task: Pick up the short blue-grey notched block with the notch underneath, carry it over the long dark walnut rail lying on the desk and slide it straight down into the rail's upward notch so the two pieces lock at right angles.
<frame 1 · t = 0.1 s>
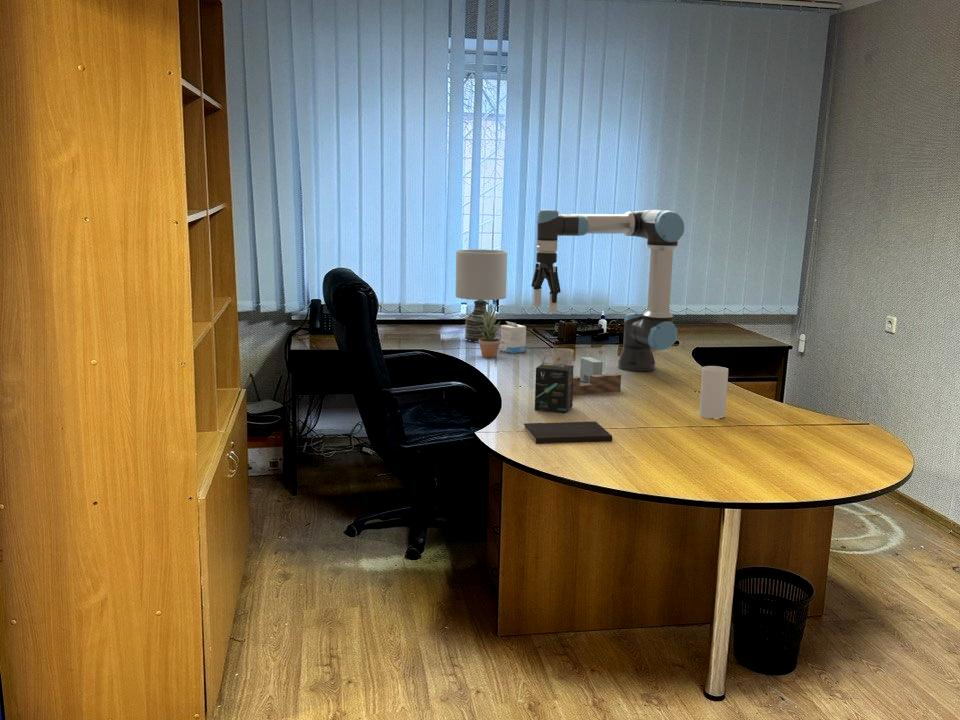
hand: (544, 309, 331), 28 cm above the table, fingers open, 13 cm apart
mug: (556, 375, 350), on the table
cup: (711, 416, 291), on the table
walnut rail: (584, 392, 320), on the table
hardcover book: (566, 437, 265), on the table
tampon box: (553, 409, 296), on the table
lamp: (479, 340, 425), on the table
blue-grey notched block: (590, 382, 336), on the table
white box: (513, 351, 398), on the table
potted plant: (488, 356, 385), on the table
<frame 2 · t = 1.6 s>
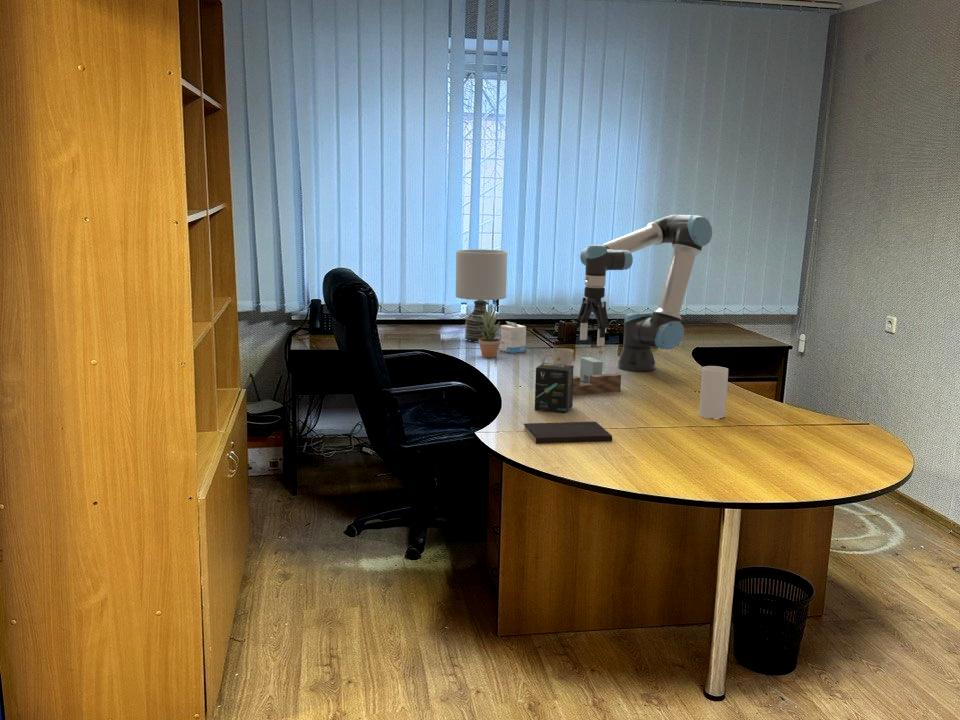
hand: (591, 343, 333), 15 cm above the table, fingers open, 13 cm apart
nothing on the table moved.
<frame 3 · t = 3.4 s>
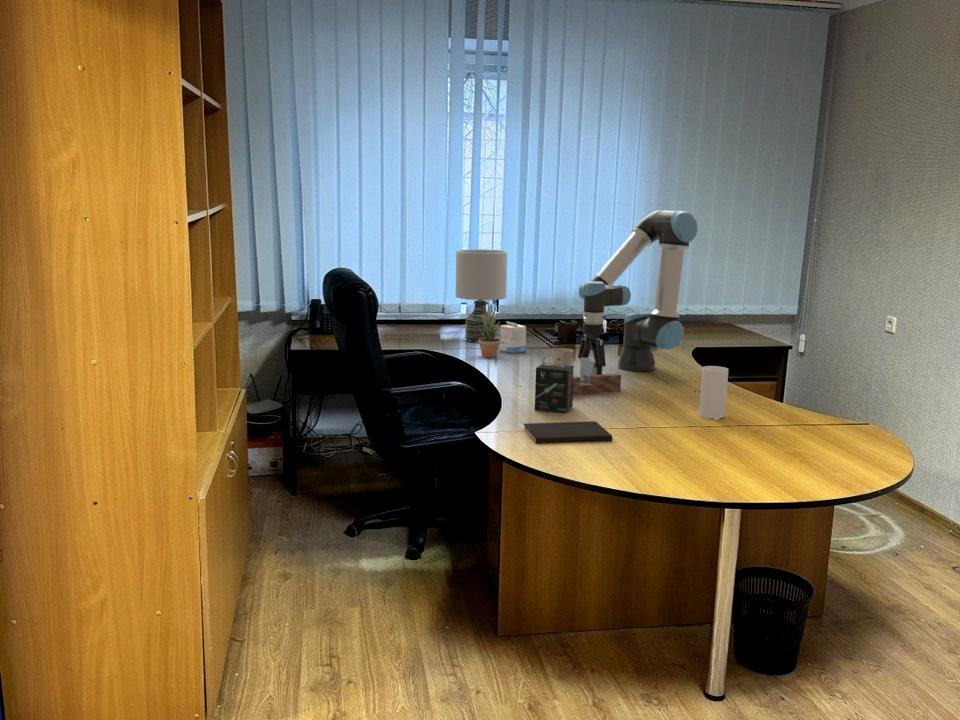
hand: (590, 380, 336), 1 cm above the table, fingers closed on blue-grey notched block, 10 cm apart
blue-grey notched block: (590, 382, 336), on the table, touching gripper
everything else where it was.
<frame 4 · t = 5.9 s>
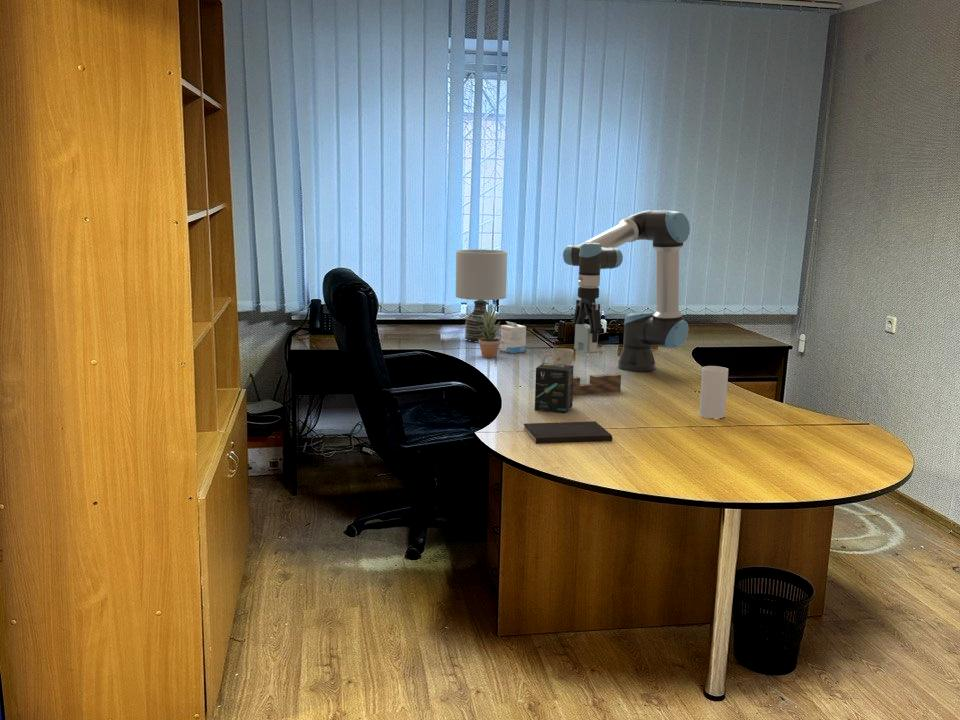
hand: (585, 348, 317), 16 cm above the table, fingers closed on blue-grey notched block, 10 cm apart
blue-grey notched block: (585, 350, 317), point 15 cm above the table, touching gripper
everything else where it was.
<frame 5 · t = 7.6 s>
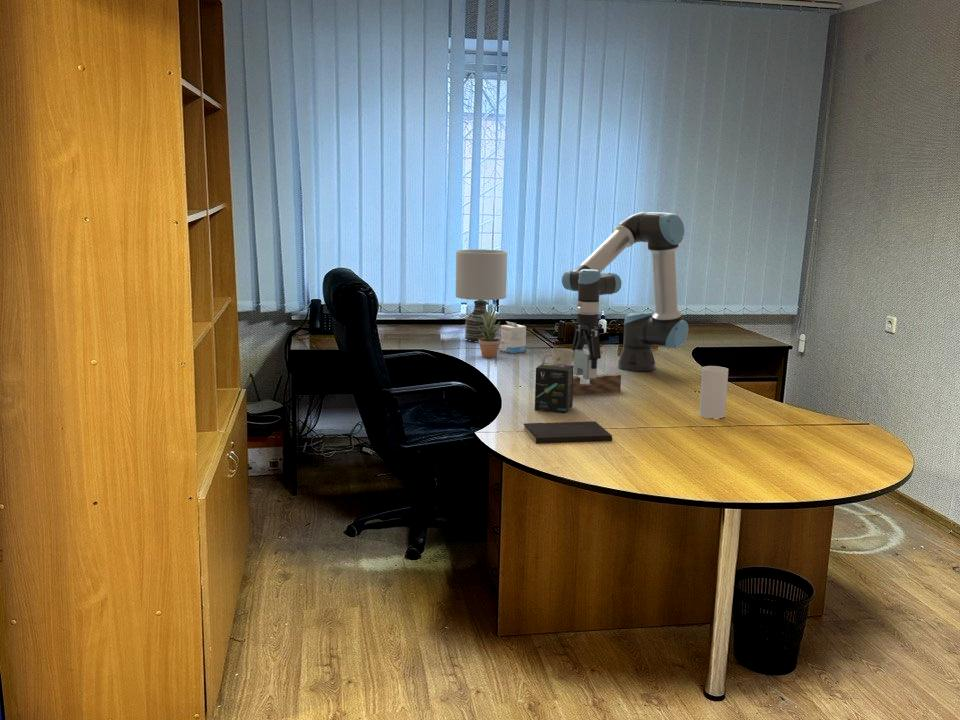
hand: (585, 374, 319), 7 cm above the table, fingers closed on blue-grey notched block, 10 cm apart
blue-grey notched block: (584, 376, 319), point 6 cm above the table, touching gripper
everything else where it was.
when the fingers open (3 cm above the table, at t = 8.9 s): blue-grey notched block drops 2 cm, resting on walnut rail.
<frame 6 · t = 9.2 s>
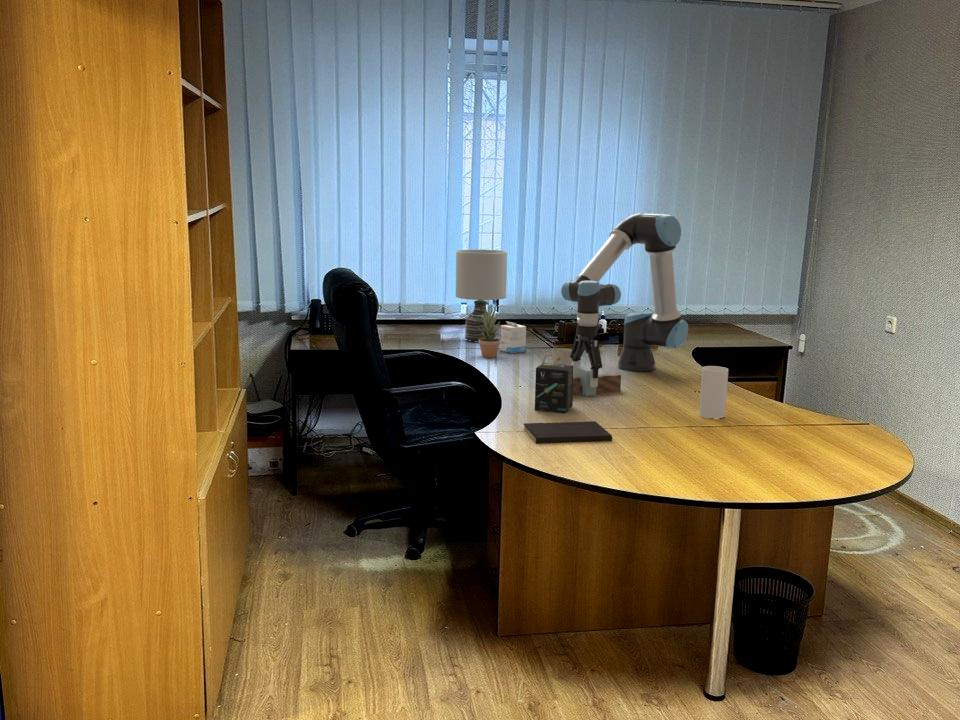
hand: (584, 382, 319), 4 cm above the table, fingers open, 13 cm apart
blue-grey notched block: (584, 392, 320), resting on walnut rail
everything else where it was.
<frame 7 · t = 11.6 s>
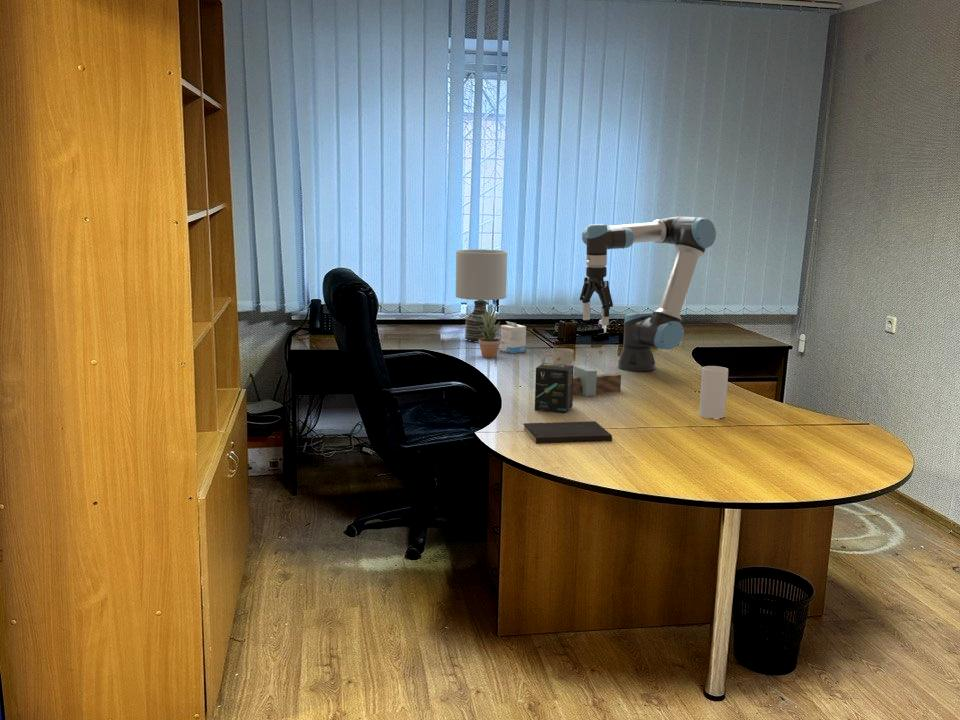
hand: (595, 322, 333), 23 cm above the table, fingers open, 13 cm apart
nothing on the table moved.
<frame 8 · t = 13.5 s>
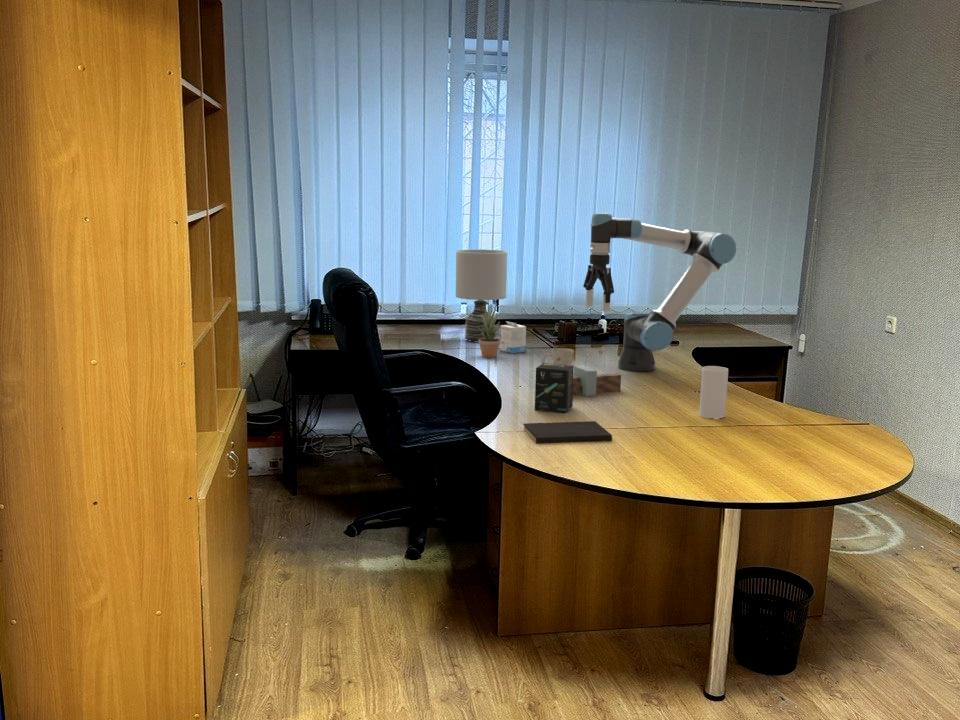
hand: (597, 308, 343), 27 cm above the table, fingers open, 13 cm apart
nothing on the table moved.
at the end: blue-grey notched block 0.0 cm off-centre on the walnut rail, point 0.0 cm above the walnut rail's base; blue-grey notched block tilted 0°; the gripper is holding nothing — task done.
